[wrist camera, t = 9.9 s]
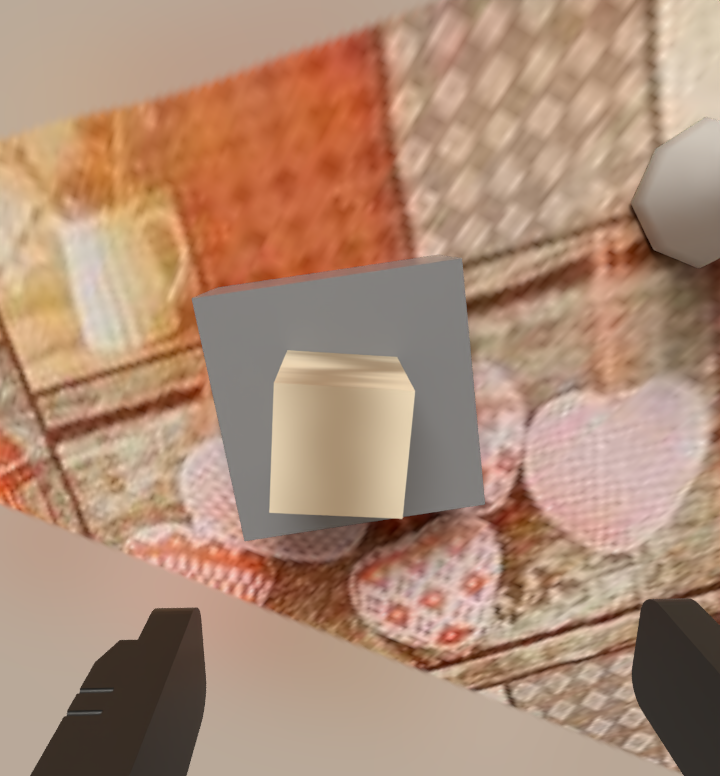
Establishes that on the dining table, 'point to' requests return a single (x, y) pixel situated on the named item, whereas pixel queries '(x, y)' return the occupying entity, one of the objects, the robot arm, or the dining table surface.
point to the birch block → (340, 435)
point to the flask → (683, 195)
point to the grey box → (346, 336)
